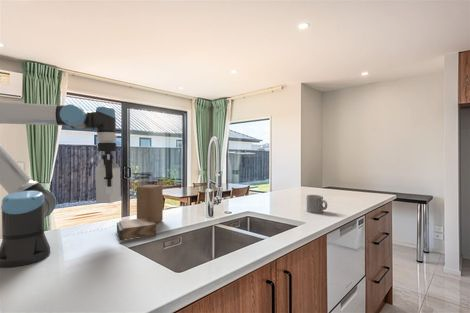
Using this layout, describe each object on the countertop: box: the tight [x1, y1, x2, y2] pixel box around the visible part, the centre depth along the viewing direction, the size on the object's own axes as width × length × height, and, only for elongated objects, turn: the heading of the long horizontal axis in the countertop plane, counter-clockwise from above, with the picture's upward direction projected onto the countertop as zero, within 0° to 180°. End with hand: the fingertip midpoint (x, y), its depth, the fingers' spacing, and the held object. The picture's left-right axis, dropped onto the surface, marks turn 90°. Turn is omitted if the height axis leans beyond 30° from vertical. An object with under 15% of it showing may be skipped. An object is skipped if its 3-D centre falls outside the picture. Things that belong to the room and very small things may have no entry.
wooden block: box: [136, 184, 164, 224], centre depth 139 cm, size 10×10×20 cm
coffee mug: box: [306, 194, 328, 214], centre depth 163 cm, size 13×10×10 cm
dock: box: [116, 217, 157, 241], centre depth 121 cm, size 15×14×5 cm
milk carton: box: [94, 158, 122, 204], centre depth 114 cm, size 7×7×19 cm
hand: (108, 192), depth 114 cm, fingers closed on milk carton, 10 cm apart
